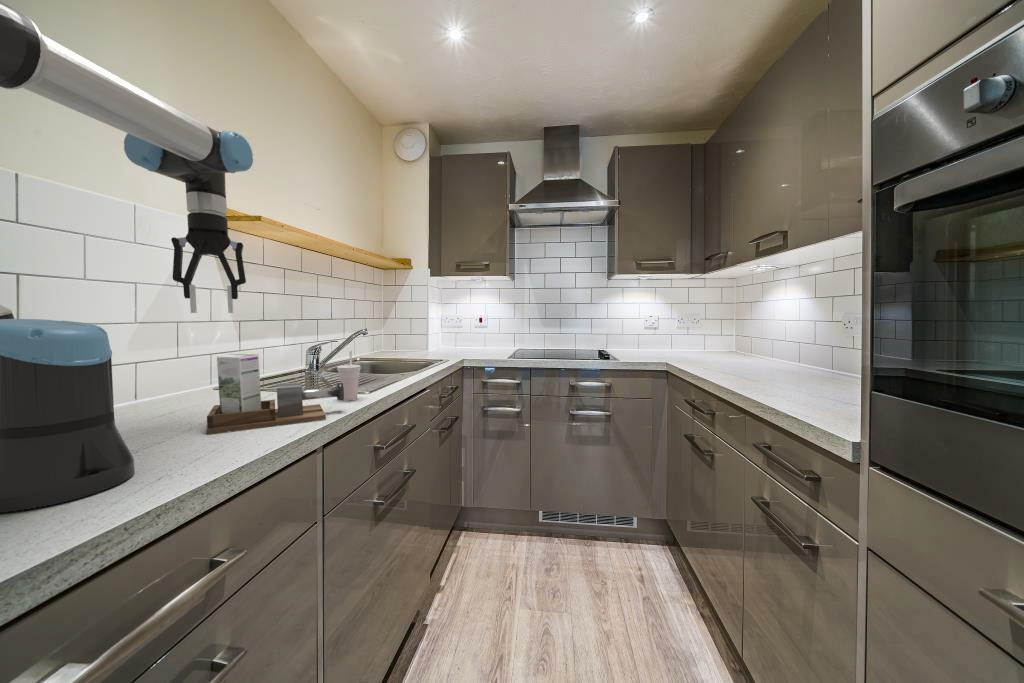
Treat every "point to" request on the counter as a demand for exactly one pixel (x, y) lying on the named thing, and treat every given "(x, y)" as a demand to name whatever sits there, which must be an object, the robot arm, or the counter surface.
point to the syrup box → (239, 383)
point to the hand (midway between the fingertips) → (212, 312)
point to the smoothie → (349, 379)
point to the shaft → (324, 393)
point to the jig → (267, 412)
